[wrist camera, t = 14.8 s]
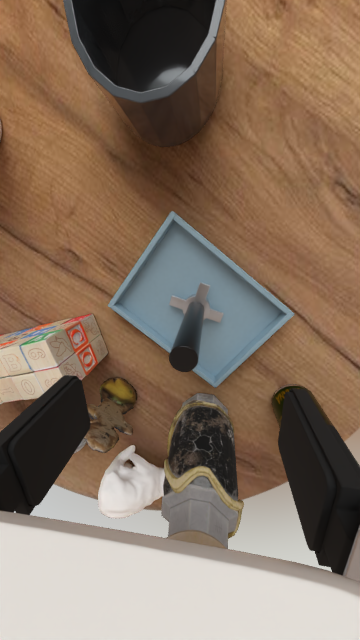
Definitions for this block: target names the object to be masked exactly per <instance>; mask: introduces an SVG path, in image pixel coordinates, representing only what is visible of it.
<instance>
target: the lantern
mask: <svg viewBox="0 0 360 640" xmlns="http://www.w3.org/2000/svg"><path fill="white" fill-rule="evenodd" d="M167 451H168V459H165V461H164V472H165V479H164V484H163V491H164V496H163V497H162V516H163V517H164V518H165V519H166V520H167V521H168V522H169V532H168V533H169V534H168V537H167V539H173V540H179V541H184V542H190V543H196V544H201V545H207V546H213V547H218V548H224V549H228V539H229V538H230V537H232V536H234V535H235V533H236V531H237V530H238V527H239V524H240V520H241V514H242V509H243V506H244V503H243V501H241V500H240V499H239V500H238V486H237V472H236V458H235V443H234V427H233V424H232V422H231V420H230V418H229V416H228V410H227V408H226V407H225V406H224V405H223V404H222V403H221V402H220V401H219V400H218V399H217V398H216V397H215V395H212V394H203V393H197V394H196V395H194V396H193V397H191V398H190V399H188V400H186V401H185V402H183V405H182V407H181V409H180V410H179V411H178V412H177V414H176V416H175V417H174V420H173V422H172V424H171V428H170V431H169V436H168V445H167Z"/></svg>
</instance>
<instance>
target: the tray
mask: <svg viewBox="0 0 360 640" xmlns="http://www.w3.org/2000/svg"><path fill="white" fill-rule="evenodd" d="M200 282H202V283H204V284H207V285H210V288H209V291H208V294H207V297H206V298H207V299H208V301H209V304H210V308H211V309H213V310H216V311H219V312H222V313H224V314H223V317H222V319H221V322H220V323H219V322H216V321H214V320H211V319H208V318H206V319H205V320H203V327H202V335H201V343H200V351H199V359H198V364H197V366H196V367H195V368H194V369H193V370H192V371H194V372H195V373H196V374H198V375H199V376H200V377H202V378H203V379H204V380H206V381H207V382H208V383H209V384H211V385H212V386H213V387H215V388H216V387H217V386H218V385H219V384H220V383H221V382H222V381H224V380H225V379H226V378H227V377H228V376H229V375H230V374H231V373H232V372H233V371H234V370H235V369H236V368H238V367H239V366H240V365H241V364H242V363H243V362H244V361H245V360H246V359H247V358H248V357H249V356H250V355H251V354H253V353H254V352H255V351H256V350H257V349H258V348H259V347H260V346H261V345H262V344H263V343H264V342H265V341H266V340H268V339H269V338H270V337H271V336H272V335H273V334H274V333H275V332H276V331H277V330H278V329H279V328H280V327H281V326H283V325H284V324H285V323H286V322H287V321H288V320H289V319H290V318H291V317H292V316H293V315H294V313H293V312H292V311H291V310H290V309H288V308H287V307H286V306H285V305H284V304H283V303H281V302H280V301H279V300H278V299H277V298H275V297H274V296H273V295H272V294H271V293H269V292H268V291H267V290H266V289H265V288H264V287H262V286H261V285H260V284H259V283H258V282H256V281H255V280H254V279H253V278H252V277H251V276H249V275H248V274H247V273H246V272H245V271H243V270H242V269H241V268H240V267H239V266H238V265H236V264H235V263H234V262H233V261H232V260H230V259H229V258H228V257H227V256H226V255H224V254H223V253H222V252H221V251H220V250H219V249H217V248H216V247H215V246H214V245H213V244H211V243H210V242H209V241H208V240H207V239H206V238H204V237H203V236H202V235H201V234H200V233H198V232H197V231H196V230H195V229H194V228H193V227H191V226H190V225H189V224H188V223H187V222H185V221H184V220H183V219H182V218H181V217H179V216H178V215H177V214H176V213H175V212H173V211H171V212H170V214H169V215H168V217H167V218H166V220H165V221H164V223H163V224H162V226H161V227H160V229H159V230H158V232H157V233H156V235H155V236H154V238H153V239H152V241H151V242H150V244H149V245H148V246H147V248H146V249H145V251H144V252H143V254H142V255H141V257H140V258H139V260H138V261H137V263H136V264H135V266H134V267H133V269H132V270H131V272H130V273H129V275H128V276H127V278H126V279H125V281H124V282H123V284H122V285H121V287H120V288H119V290H118V291H117V292H116V294H115V295H114V297H113V298H112V300H111V301H110V303H109V304H108V306H109V307H110V308H112V309H113V310H114V311H115V312H116V313H118V314H119V315H120V316H122V317H123V318H124V319H126V320H127V321H128V322H130V323H131V324H132V325H133V326H135V327H136V328H137V329H139V330H140V331H141V332H143V333H144V334H145V335H147V336H148V337H149V338H151V339H152V340H153V341H154V342H156V343H157V344H158V345H160V346H161V347H162V348H164V349H165V350H166V351H168V352H169V353H170V352H171V349H172V346H173V344H174V341H175V339H176V336H177V334H178V331H179V328H180V326H181V323H182V321H183V318H184V314H183V310H182V309H179V308H177V307H174V306H171V305H169V303H170V300H171V297H172V295H173V296H176V297H179V298H182V299H185V300H186V299H187V298H188V297H189V296H190V295H193V294H196V293H197V290H198V287H199V284H200Z"/></svg>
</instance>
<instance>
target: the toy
mask: <svg viewBox="0 0 360 640" xmlns="http://www.w3.org/2000/svg"><path fill="white" fill-rule="evenodd" d="M100 395H101V403H100V405H99V406H98V407H97V406H94V405H92V404H87V408H88V413H89V417H90V418H91V419H93V420H90V422H91V425H90V429H89V431H88V433H87V434H86V436H85V437H84V439H85V440H87V444H88V445H89V447H90V448H91V449H92V450H96V451H98V452H102V453H106V452H107V451H109V450H110V449H111V448H113V447H114V446H115V444H116V443H117V441H118V440H119V436H118V434H117V433H116V431H115V430H114V427H115V428H116V429H118V430H119V431H120V432H122V433H125V434H128V435H132V434H133V429H132V427H131V426H130V425H129V424H127V423H126V422H125V418H124V416H123V414H126V413H127V411H129V410H131V409H133V408H134V404H135V402H136V400H137V393H136V390H135V389H134V387H133V386H132V385H131V384H129V383H128V382H127V381H126V380H125V379H122V378H116V379H114V378H113V379H112V378H110V379H109V380H107V381H105V382H104V383H103V384H102V385H101V387H100Z"/></svg>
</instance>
